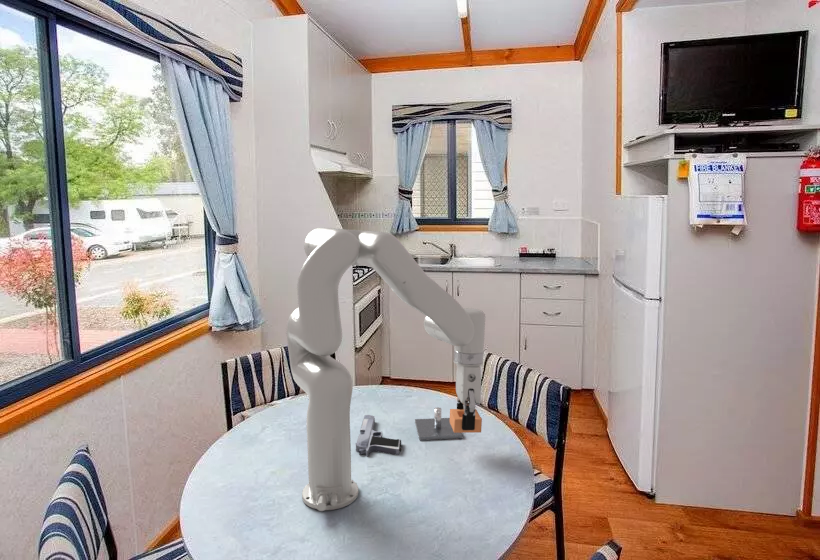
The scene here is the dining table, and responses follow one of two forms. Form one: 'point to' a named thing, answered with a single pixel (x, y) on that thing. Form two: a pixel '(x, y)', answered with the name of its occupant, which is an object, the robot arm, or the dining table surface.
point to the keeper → (435, 428)
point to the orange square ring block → (457, 421)
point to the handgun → (375, 439)
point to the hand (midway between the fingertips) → (465, 423)
